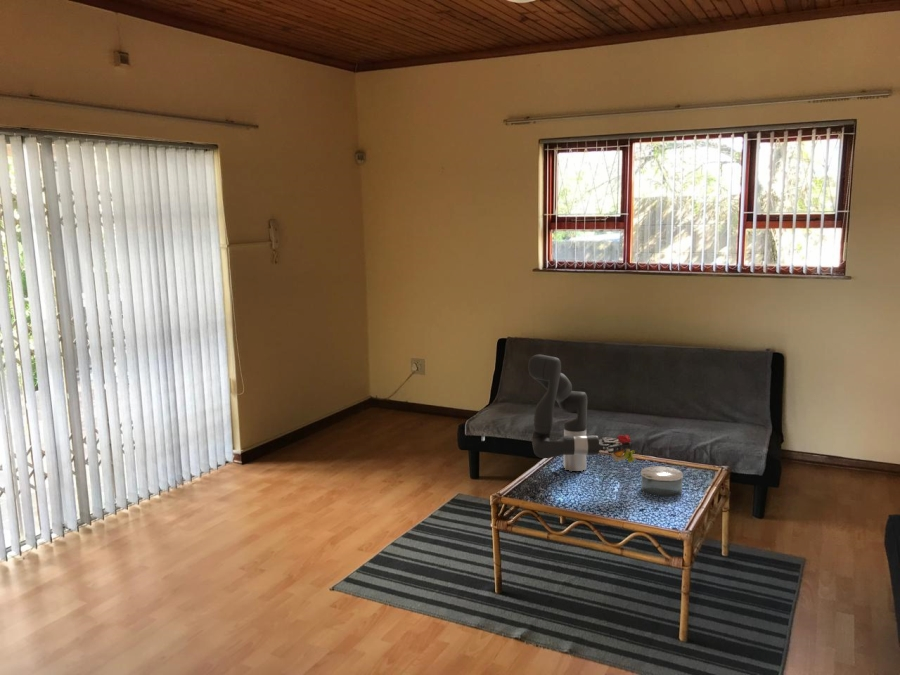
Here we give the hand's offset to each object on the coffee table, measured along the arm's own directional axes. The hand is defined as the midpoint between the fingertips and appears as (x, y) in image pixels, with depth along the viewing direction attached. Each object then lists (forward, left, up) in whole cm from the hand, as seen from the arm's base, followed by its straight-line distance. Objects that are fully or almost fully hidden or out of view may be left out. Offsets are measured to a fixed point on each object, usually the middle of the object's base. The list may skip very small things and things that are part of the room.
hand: (630, 444), depth 273 cm
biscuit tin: (+12, +1, -19) cm, 22 cm away
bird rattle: (-3, 0, -7) cm, 7 cm away
